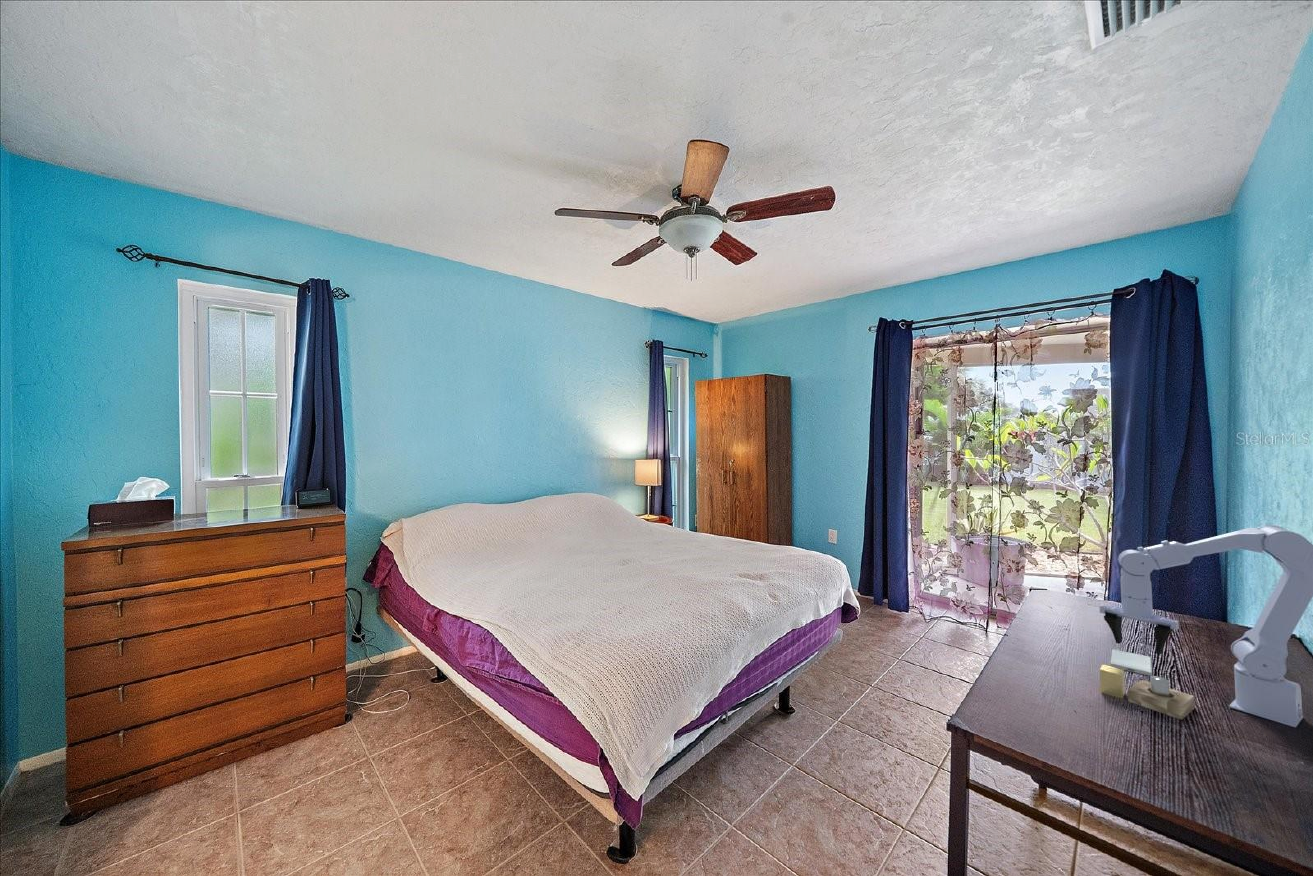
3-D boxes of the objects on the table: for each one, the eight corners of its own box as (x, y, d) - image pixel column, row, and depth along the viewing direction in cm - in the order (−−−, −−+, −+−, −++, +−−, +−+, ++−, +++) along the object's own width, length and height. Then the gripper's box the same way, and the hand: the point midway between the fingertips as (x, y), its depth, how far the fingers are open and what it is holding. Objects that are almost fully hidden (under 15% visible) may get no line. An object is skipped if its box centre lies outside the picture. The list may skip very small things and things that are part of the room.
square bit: (1125, 693, 118) (1124, 670, 119) (1122, 699, 116) (1121, 675, 116) (1103, 687, 122) (1102, 664, 122) (1100, 692, 119) (1099, 669, 119)
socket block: (1194, 708, 111) (1193, 695, 111) (1181, 720, 107) (1181, 707, 107) (1142, 691, 119) (1141, 679, 119) (1128, 701, 115) (1127, 689, 115)
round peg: (1168, 702, 113) (1166, 678, 113) (1172, 708, 111) (1170, 683, 111) (1149, 699, 115) (1148, 674, 115) (1153, 704, 113) (1151, 680, 113)
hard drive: (1112, 648, 141) (1110, 662, 132) (1151, 657, 135) (1152, 672, 126) (1112, 654, 141) (1110, 668, 132) (1151, 662, 135) (1152, 678, 126)
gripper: (1181, 601, 118) (1184, 654, 118) (1105, 586, 130) (1107, 634, 130) (1172, 606, 114) (1175, 661, 114) (1095, 591, 127) (1097, 640, 127)
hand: (1138, 647), depth 122 cm, fingers open, 7 cm apart
